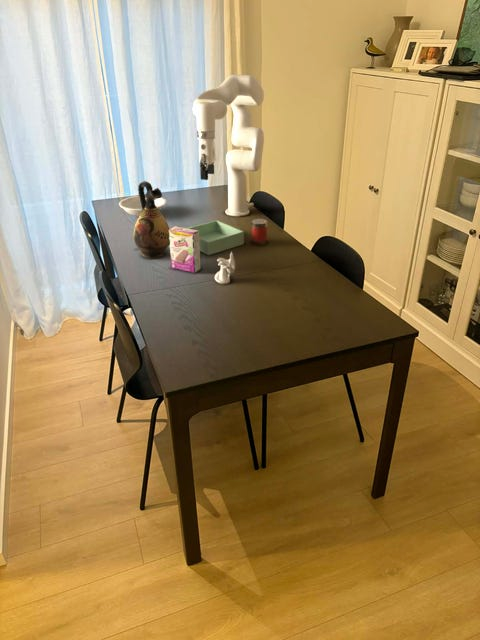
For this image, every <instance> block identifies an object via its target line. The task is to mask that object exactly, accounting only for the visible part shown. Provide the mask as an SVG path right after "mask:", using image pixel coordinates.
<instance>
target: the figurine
mask: <svg viewBox="0 0 480 640" xmlns="http://www.w3.org/2000/svg"><path fill="white" fill-rule="evenodd" d="M216 261H217V262H218V264H217V266H220V270H219V271H217V272H216V273H215V275H214V280H215V281H216V282H217V283H218V284H222V285H226V284H229V283H230V282H231V278H230V277H231V275H234V274H235V271H236V261H235V258H234V253H233V252H232V251H231V252H230V253H229V259H225V258H224V257H218V259H217V260H216Z"/></svg>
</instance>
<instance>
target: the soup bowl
mask: <svg viewBox="0 0 480 640" xmlns="http://www.w3.org/2000/svg"><path fill="white" fill-rule="evenodd" d="M145 199H146V197H145ZM154 202H155V206H156V207H157V209H158V210H159V211H160V212H161V211H162V210H163V208H164V206H166V205H167V204H168V200H167V199H166V198H164V197H163V196H162V197H161V198H159V199H156V200H154ZM118 206H119V207H120V208H122V210H124V211H125V212H126V213H127V214H128V215H131V216H133V217H137V218H139V216H140V214H141V211H142V206H141V202H140V197H139V195H133V196H129V197H126V198H124V199H121V200H120V201H119V203H118Z"/></svg>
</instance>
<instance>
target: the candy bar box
mask: <svg viewBox="0 0 480 640" xmlns="http://www.w3.org/2000/svg"><path fill="white" fill-rule="evenodd" d="M188 228H189V227H182V226H176V225H174V226H173V227H171V228H169V242H170V244H169V254H170V268H171V269H173V270H178V271H184V272H188V273H192V274H196V273H197V272H199V271H200V270H201V269H202V268H201V251H200V240H199V231H198V230H193V229H188Z"/></svg>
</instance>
